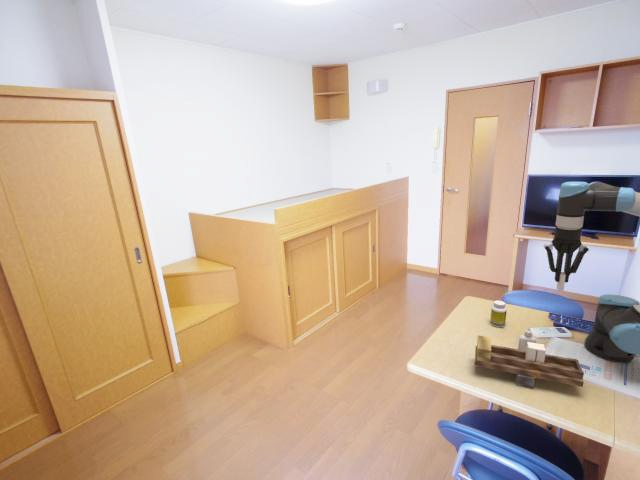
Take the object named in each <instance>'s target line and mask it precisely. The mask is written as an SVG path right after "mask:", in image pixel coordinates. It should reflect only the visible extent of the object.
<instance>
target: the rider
mask: <svg viewBox="0 0 640 480" xmlns="http://www.w3.org/2000/svg"><path fill="white" fill-rule="evenodd" d="M546 352H547V350H546V348H545V344H542V343H537V342H536V343H532V342H527V347H526V355H525V360H527V361H532V362H539V363H543V364H544V360H545V354H546Z"/></svg>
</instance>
